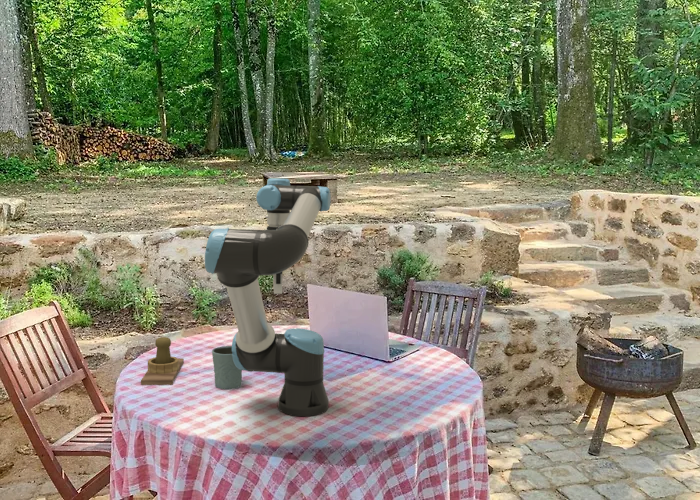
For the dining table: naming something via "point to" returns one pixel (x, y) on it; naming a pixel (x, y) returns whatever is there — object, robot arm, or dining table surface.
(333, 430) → the dining table surface
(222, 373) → the grey green cup
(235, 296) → the robot arm
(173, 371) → the board
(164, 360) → the cork
